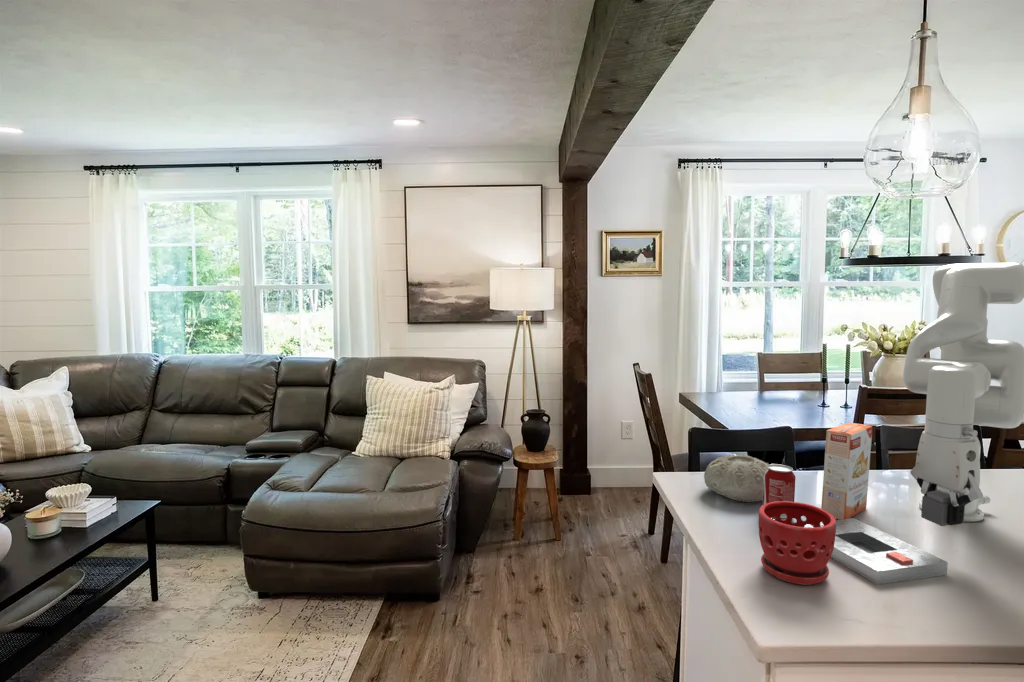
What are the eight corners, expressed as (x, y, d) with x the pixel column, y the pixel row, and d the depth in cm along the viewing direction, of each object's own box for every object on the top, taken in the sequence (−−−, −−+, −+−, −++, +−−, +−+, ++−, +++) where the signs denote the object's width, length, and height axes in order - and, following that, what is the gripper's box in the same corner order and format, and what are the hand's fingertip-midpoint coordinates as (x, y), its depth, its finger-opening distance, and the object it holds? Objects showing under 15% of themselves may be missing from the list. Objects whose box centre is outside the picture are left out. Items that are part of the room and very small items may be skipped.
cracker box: (847, 523, 136) (852, 434, 134) (819, 515, 141) (824, 429, 139) (868, 508, 145) (873, 425, 143) (842, 502, 150) (846, 420, 148)
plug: (942, 513, 120) (944, 488, 120) (963, 522, 116) (965, 496, 115) (921, 517, 119) (922, 491, 118) (941, 526, 115) (943, 499, 114)
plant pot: (746, 557, 118) (748, 499, 117) (812, 559, 118) (815, 500, 117) (772, 591, 105) (775, 525, 104) (847, 592, 105) (851, 527, 104)
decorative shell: (728, 511, 143) (730, 470, 142) (690, 487, 161) (691, 451, 160) (792, 505, 148) (793, 466, 147) (747, 482, 165) (749, 447, 164)
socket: (853, 529, 133) (854, 515, 132) (946, 574, 111) (948, 559, 111) (792, 535, 129) (793, 522, 129) (877, 584, 108) (878, 568, 107)
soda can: (796, 523, 136) (799, 472, 135) (765, 521, 137) (767, 470, 136) (789, 513, 142) (791, 464, 141) (759, 510, 144) (761, 462, 142)
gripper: (1008, 439, 108) (1000, 534, 110) (924, 417, 124) (919, 500, 126) (976, 443, 106) (969, 539, 108) (895, 420, 122) (890, 504, 125)
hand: (942, 517), depth 117 cm, fingers closed on plug, 4 cm apart
